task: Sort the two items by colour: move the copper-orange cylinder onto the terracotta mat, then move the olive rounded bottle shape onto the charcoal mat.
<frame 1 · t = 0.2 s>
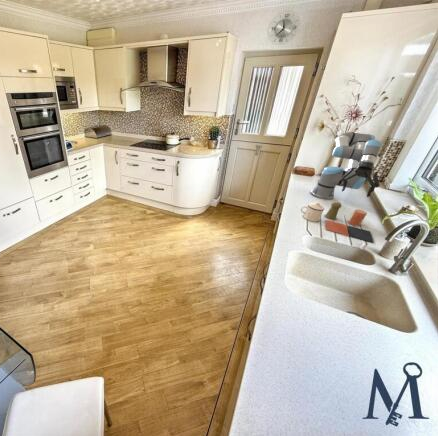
hand: (355, 193, 153), 16 cm above the worktop, tool tilted 35°, fingers open, 13 cm apart
olive rounded bottle shape: (330, 217, 156), on the worktop
copper-orange cylinder: (354, 223, 150), on the worktop
charcoal mat: (359, 234, 140), on the worktop
terracotta mat: (336, 228, 145), on the worktop
teacup with lid: (308, 218, 155), on the worktop
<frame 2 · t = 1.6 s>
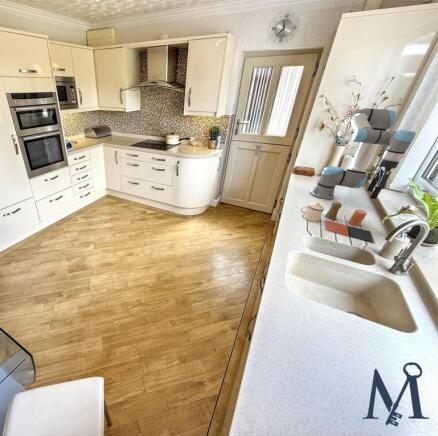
hand: (370, 194, 140), 20 cm above the worktop, tool pointing down, fingers open, 13 cm apart
nothing on the worktop moved.
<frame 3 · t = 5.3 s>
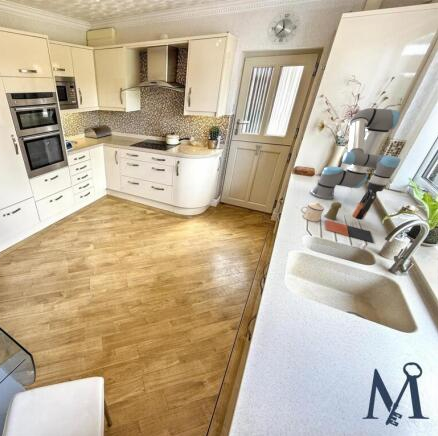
hand: (357, 216, 148), 5 cm above the worktop, tool pointing down, fingers closed on copper-orange cylinder, 6 cm apart
copper-orange cylinder: (357, 217, 148), point 5 cm above the worktop, touching gripper
everything else where it was.
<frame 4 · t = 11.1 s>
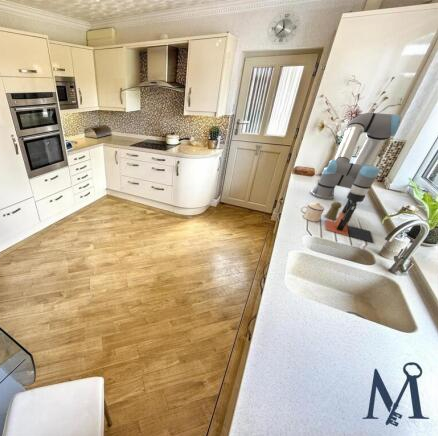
hand: (339, 227, 144), 1 cm above the worktop, tool pointing down, fingers closed on copper-orange cylinder, 6 cm apart
copper-orange cylinder: (338, 227, 144), point 1 cm above the worktop, touching gripper
everything else where it was.
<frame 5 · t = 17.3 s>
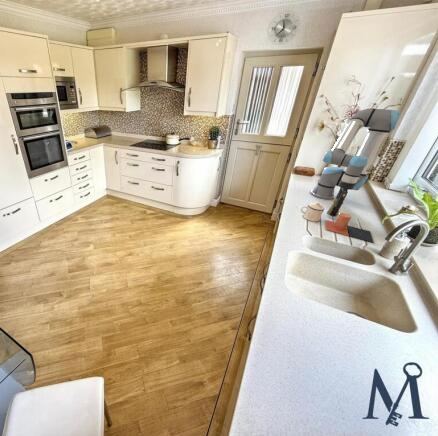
hand: (332, 213, 155), 3 cm above the worktop, tool pointing down, fingers closed on olive rounded bottle shape, 6 cm apart
olive rounded bottle shape: (331, 214, 156), point 2 cm above the worktop, touching gripper
copper-orange cylinder: (338, 227, 144), point 1 cm above the worktop, touching terracotta mat
everything else where it was.
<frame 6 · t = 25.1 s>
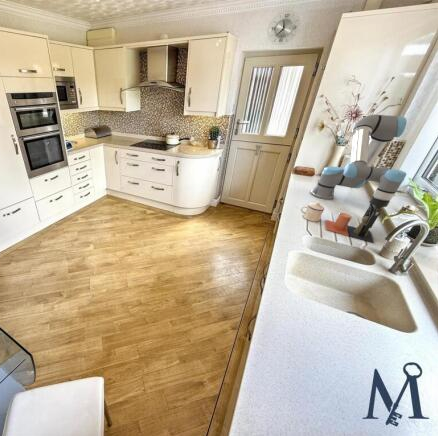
hand: (360, 233, 139), 1 cm above the worktop, tool pointing down, fingers closed on olive rounded bottle shape, 6 cm apart
olive rounded bottle shape: (359, 233, 139), resting on charcoal mat, touching gripper
everything else where it was.
when the fingers open (1 cm above the worktop, at t = 29.3 s): olive rounded bottle shape stays where it is, resting on charcoal mat.
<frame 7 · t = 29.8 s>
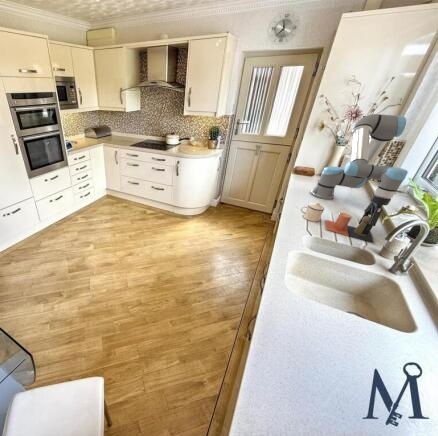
hand: (362, 229, 138), 4 cm above the worktop, tool pointing down, fingers open, 13 cm apart
olive rounded bottle shape: (359, 233, 139), resting on charcoal mat
everything else where it was.
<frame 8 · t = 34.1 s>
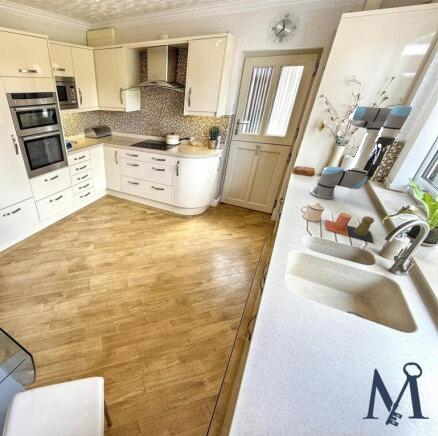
hand: (367, 173, 139), 32 cm above the worktop, tool pointing down, fingers open, 13 cm apart
nothing on the worktop moved.
at the end: copper-orange cylinder inside the target area (0.8 cm from its centre), point 0.6 cm above the worktop; olive rounded bottle shape inside the target area (0.3 cm from its centre), resting on charcoal mat; olive rounded bottle shape tilted 0° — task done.
